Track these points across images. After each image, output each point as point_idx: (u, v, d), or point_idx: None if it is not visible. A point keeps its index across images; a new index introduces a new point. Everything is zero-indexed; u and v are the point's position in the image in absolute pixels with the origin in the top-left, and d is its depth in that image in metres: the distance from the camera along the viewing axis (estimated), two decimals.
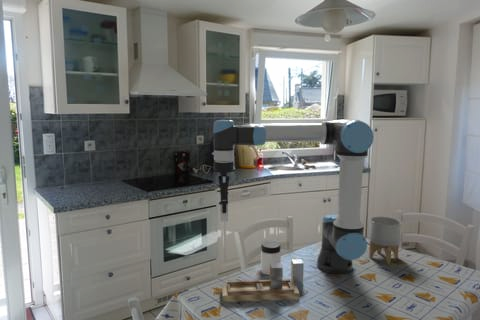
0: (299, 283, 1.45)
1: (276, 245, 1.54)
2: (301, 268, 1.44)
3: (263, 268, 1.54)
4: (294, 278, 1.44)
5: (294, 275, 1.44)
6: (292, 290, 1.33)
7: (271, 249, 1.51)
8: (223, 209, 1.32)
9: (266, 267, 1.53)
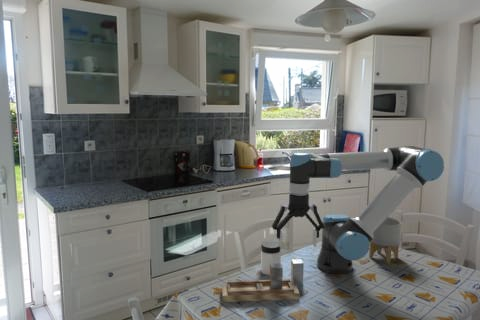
0: (299, 283, 1.45)
1: (276, 245, 1.54)
2: (301, 268, 1.44)
3: (263, 268, 1.54)
4: (294, 278, 1.44)
5: (294, 275, 1.44)
6: (292, 290, 1.33)
7: (271, 249, 1.51)
8: (276, 234, 1.43)
9: (266, 267, 1.53)
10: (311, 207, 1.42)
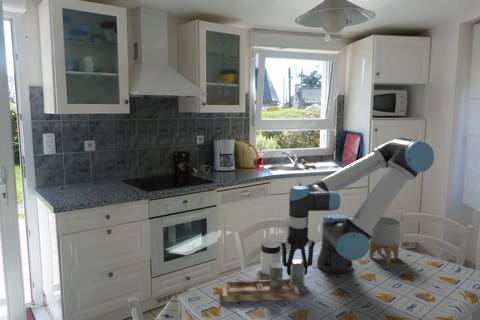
0: (299, 283, 1.45)
1: (276, 245, 1.54)
2: (301, 268, 1.44)
3: (263, 268, 1.54)
4: (294, 278, 1.44)
5: (294, 275, 1.44)
6: (292, 290, 1.33)
7: (271, 249, 1.51)
8: (287, 270, 1.46)
9: (266, 267, 1.53)
10: (310, 241, 1.44)
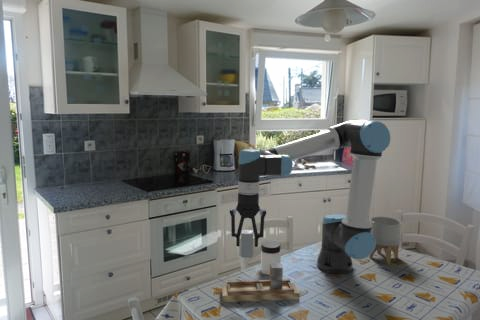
0: None
1: (276, 245, 1.54)
2: None
3: (263, 268, 1.54)
4: None
5: None
6: (292, 290, 1.33)
7: (271, 249, 1.51)
8: (257, 242, 1.34)
9: (266, 267, 1.53)
10: None
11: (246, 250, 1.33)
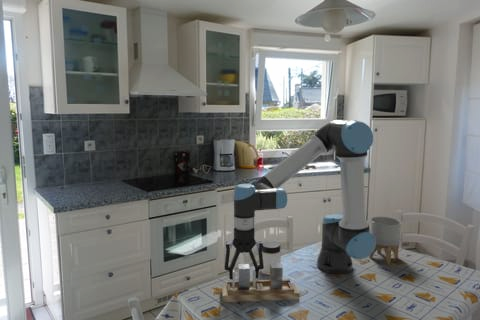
0: None
1: (276, 245, 1.54)
2: None
3: (263, 268, 1.54)
4: None
5: None
6: (292, 290, 1.33)
7: (271, 249, 1.51)
8: None
9: (266, 267, 1.53)
10: None
11: (243, 285, 1.34)
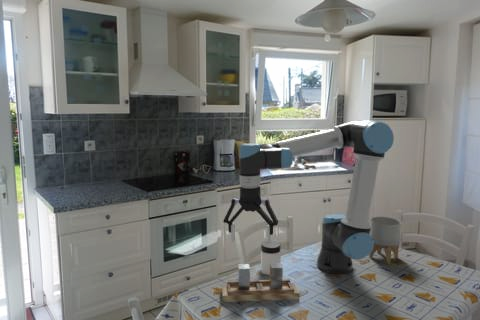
0: None
1: (276, 245, 1.54)
2: None
3: (263, 268, 1.54)
4: None
5: None
6: (292, 290, 1.33)
7: (271, 249, 1.51)
8: None
9: (266, 267, 1.53)
10: None
11: (243, 285, 1.34)
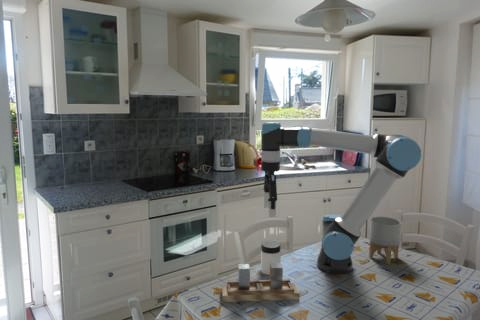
0: None
1: (276, 245, 1.54)
2: None
3: (263, 268, 1.54)
4: None
5: None
6: (292, 290, 1.33)
7: (271, 249, 1.51)
8: (272, 205, 1.42)
9: (266, 267, 1.53)
10: None
11: (243, 285, 1.34)
